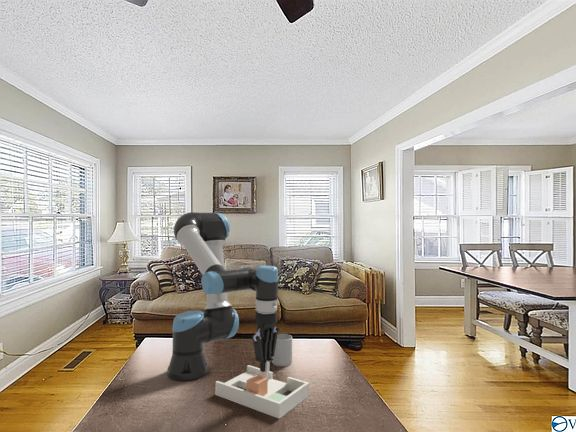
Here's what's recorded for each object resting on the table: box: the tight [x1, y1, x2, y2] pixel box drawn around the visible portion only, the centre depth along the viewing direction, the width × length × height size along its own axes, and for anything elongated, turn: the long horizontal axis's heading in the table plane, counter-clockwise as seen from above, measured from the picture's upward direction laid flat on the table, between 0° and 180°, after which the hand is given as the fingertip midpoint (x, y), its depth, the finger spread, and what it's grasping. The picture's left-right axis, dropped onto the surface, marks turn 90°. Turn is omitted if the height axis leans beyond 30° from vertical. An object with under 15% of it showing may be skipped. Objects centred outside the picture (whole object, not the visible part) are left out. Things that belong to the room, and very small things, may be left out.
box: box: [214, 364, 310, 419], centre depth 127 cm, size 27×18×4 cm, turn 57°
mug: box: [271, 333, 293, 367], centre depth 159 cm, size 12×8×11 cm
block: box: [246, 375, 268, 396], centre depth 123 cm, size 5×5×5 cm
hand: (264, 379), depth 127 cm, fingers closed
